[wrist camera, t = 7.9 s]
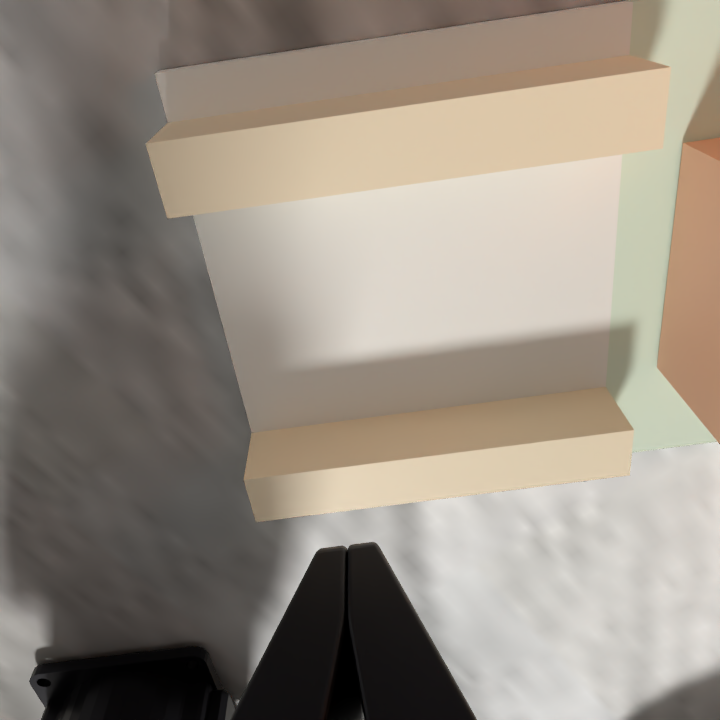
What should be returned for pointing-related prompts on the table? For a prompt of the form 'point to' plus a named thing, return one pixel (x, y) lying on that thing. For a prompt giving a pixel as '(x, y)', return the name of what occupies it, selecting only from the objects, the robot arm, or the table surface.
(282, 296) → the beige railed tray
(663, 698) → the table surface
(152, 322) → the table surface
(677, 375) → the block
